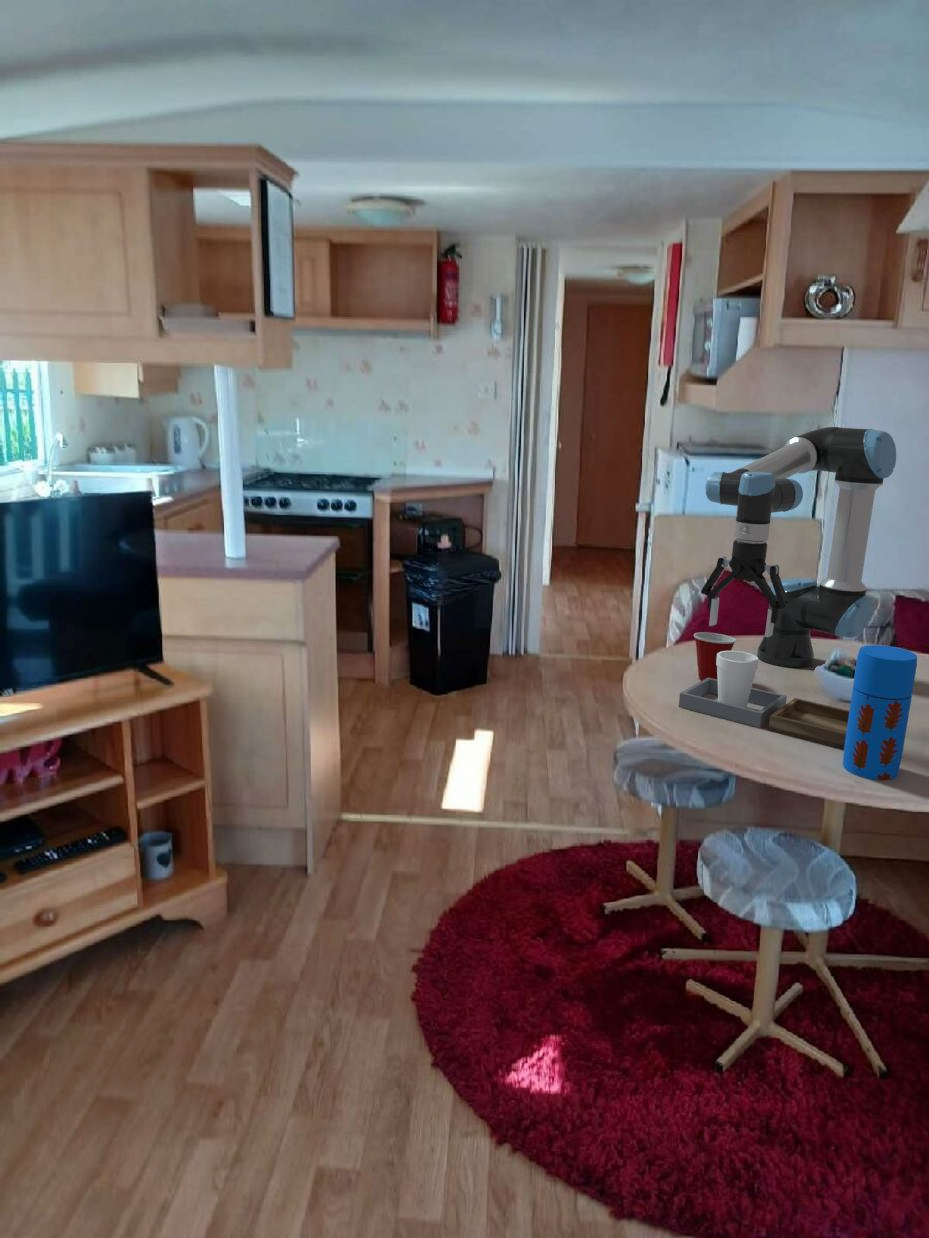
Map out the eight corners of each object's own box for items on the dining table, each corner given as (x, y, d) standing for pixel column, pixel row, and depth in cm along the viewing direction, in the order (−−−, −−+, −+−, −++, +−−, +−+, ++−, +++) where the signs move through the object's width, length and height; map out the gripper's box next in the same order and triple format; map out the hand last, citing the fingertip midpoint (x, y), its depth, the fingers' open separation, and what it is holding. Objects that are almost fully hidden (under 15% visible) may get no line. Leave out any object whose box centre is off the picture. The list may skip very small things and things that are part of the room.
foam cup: (753, 717, 221) (759, 664, 218) (712, 713, 223) (718, 660, 220) (750, 703, 230) (756, 652, 227) (711, 699, 232) (716, 649, 229)
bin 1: (706, 690, 239) (708, 677, 238) (785, 709, 227) (786, 695, 226) (678, 706, 226) (679, 693, 226) (759, 727, 215) (761, 713, 214)
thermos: (909, 780, 189) (929, 661, 183) (857, 780, 188) (875, 660, 182) (881, 758, 200) (899, 644, 193) (832, 758, 199) (849, 644, 192)
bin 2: (793, 711, 226) (795, 697, 225) (881, 733, 214) (883, 718, 213) (768, 730, 214) (770, 715, 213) (860, 753, 202) (862, 738, 201)
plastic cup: (738, 679, 248) (743, 635, 245) (720, 689, 240) (725, 644, 237) (700, 670, 255) (705, 627, 252) (682, 679, 247) (686, 635, 244)
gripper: (692, 535, 221) (683, 623, 226) (799, 550, 206) (787, 644, 211) (706, 531, 226) (697, 617, 232) (810, 546, 212) (798, 637, 217)
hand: (740, 630), depth 222 cm, fingers open, 13 cm apart
